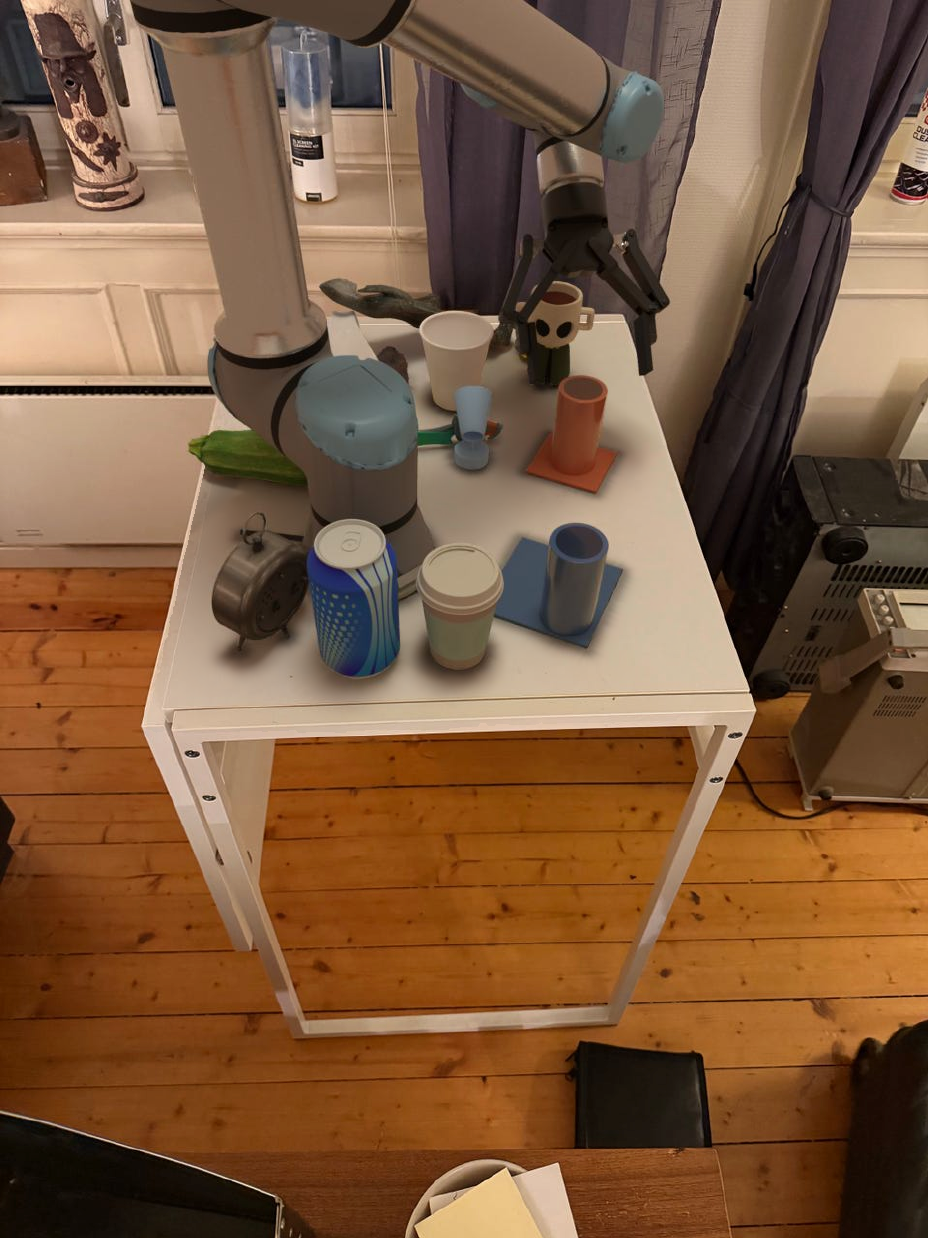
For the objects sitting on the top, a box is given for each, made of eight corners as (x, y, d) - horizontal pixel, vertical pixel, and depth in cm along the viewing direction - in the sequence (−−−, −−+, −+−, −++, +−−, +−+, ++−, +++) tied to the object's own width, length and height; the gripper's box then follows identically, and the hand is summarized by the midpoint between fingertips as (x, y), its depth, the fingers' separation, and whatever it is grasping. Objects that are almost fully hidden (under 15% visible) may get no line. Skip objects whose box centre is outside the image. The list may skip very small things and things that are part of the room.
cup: (466, 428, 119) (468, 357, 111) (406, 405, 122) (404, 334, 114) (502, 394, 124) (507, 324, 116) (444, 373, 128) (445, 303, 120)
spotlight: (452, 440, 117) (452, 472, 112) (454, 375, 109) (453, 407, 105) (489, 441, 117) (490, 473, 112) (493, 376, 109) (494, 408, 105)
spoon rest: (390, 428, 118) (388, 382, 113) (303, 432, 117) (297, 386, 111) (382, 337, 134) (380, 293, 128) (305, 340, 132) (299, 295, 127)
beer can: (416, 655, 92) (414, 544, 80) (355, 699, 87) (343, 588, 76) (365, 612, 95) (356, 500, 84) (304, 652, 91) (285, 540, 80)
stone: (376, 401, 123) (411, 401, 124) (376, 388, 121) (412, 388, 122) (371, 354, 130) (405, 355, 130) (372, 341, 128) (406, 341, 128)
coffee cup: (500, 623, 95) (507, 542, 86) (494, 684, 89) (501, 604, 80) (423, 615, 95) (422, 534, 86) (412, 676, 90) (410, 596, 81)
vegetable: (332, 481, 103) (170, 469, 105) (344, 496, 111) (192, 484, 112) (338, 422, 104) (177, 410, 106) (350, 440, 111) (199, 429, 113)
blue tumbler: (531, 625, 94) (540, 551, 86) (550, 589, 98) (561, 515, 90) (583, 643, 93) (598, 569, 85) (600, 606, 96) (616, 532, 88)
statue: (530, 311, 128) (332, 254, 116) (520, 352, 129) (324, 300, 118) (503, 314, 137) (317, 261, 125) (495, 352, 138) (310, 304, 127)
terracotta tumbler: (543, 467, 113) (551, 394, 105) (558, 442, 117) (568, 369, 108) (586, 480, 111) (599, 407, 103) (601, 454, 115) (614, 381, 107)
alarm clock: (287, 589, 97) (267, 474, 85) (325, 608, 96) (310, 494, 84) (220, 651, 91) (188, 538, 79) (260, 673, 89) (233, 560, 77)
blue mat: (479, 611, 96) (479, 608, 96) (521, 539, 104) (522, 536, 104) (586, 648, 93) (587, 646, 93) (622, 571, 101) (623, 568, 101)
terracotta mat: (525, 473, 113) (525, 470, 112) (549, 435, 118) (549, 433, 118) (595, 493, 110) (596, 491, 110) (616, 454, 116) (617, 452, 115)
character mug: (508, 386, 125) (515, 302, 116) (512, 360, 130) (519, 277, 121) (584, 393, 125) (596, 309, 115) (585, 366, 130) (597, 283, 120)
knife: (499, 435, 118) (501, 403, 114) (503, 443, 117) (505, 412, 113) (354, 454, 114) (351, 423, 110) (357, 464, 113) (354, 432, 109)
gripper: (661, 202, 106) (678, 376, 107) (461, 211, 102) (481, 392, 104) (686, 173, 99) (704, 361, 100) (472, 182, 95) (493, 378, 96)
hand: (591, 377), depth 102 cm, fingers open, 13 cm apart
